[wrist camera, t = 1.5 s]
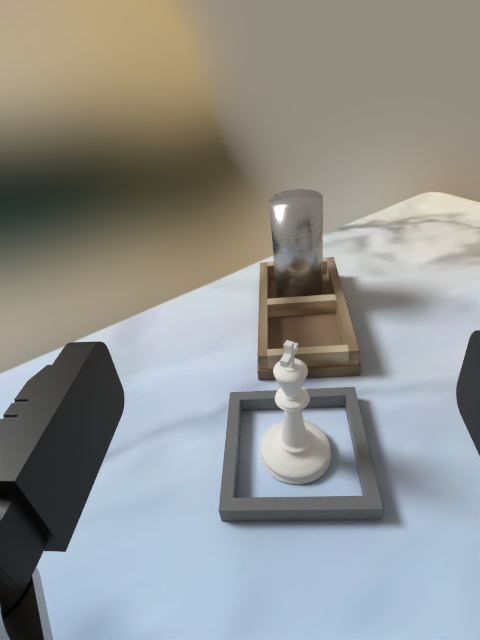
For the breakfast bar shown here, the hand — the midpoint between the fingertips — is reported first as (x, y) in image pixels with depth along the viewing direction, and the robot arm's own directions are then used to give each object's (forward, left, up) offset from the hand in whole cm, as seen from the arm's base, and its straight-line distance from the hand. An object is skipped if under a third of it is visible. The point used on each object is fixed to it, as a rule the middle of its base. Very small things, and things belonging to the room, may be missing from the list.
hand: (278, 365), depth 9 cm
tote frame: (0, -11, -18) cm, 21 cm away
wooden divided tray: (-2, -26, -18) cm, 32 cm away
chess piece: (0, -11, -19) cm, 21 cm away
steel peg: (-2, -30, -17) cm, 34 cm away
